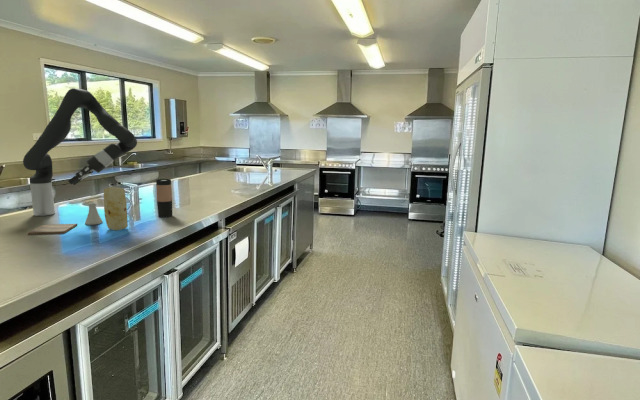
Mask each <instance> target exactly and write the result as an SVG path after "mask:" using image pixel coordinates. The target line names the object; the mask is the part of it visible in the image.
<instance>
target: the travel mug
mask: <svg viewBox="0 0 640 400" xmlns="http://www.w3.org/2000/svg"><path fill="white" fill-rule="evenodd" d="M155 184H156V204H157V215H158V217H159V218H170V217H173V191H172V190H173V189H172V180H171V178H160V179H159V178H158V179H156V180H155Z"/></svg>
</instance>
